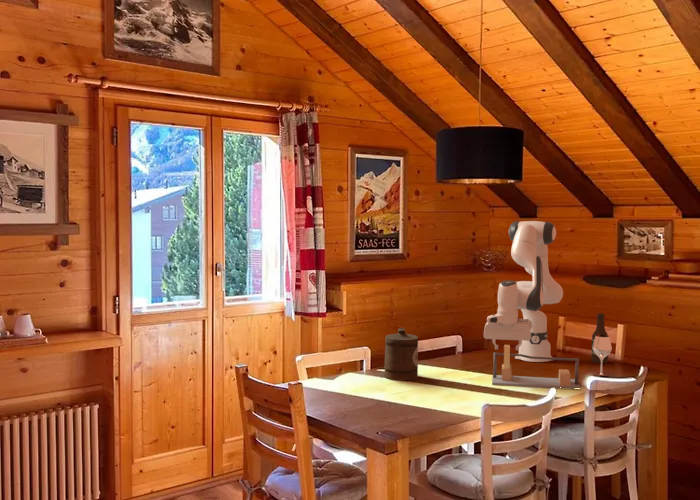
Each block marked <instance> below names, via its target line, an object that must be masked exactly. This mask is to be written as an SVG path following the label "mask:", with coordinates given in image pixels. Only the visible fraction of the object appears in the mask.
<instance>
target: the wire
mask: <svg viewBox="0 0 700 500" xmlns="http://www.w3.org/2000/svg"><path fill="white" fill-rule="evenodd" d="M496 353H497V356H504V352H502V353H501V352H496ZM515 356H522V357H526V358H530V359H549V360H552V361H570V362H571V361H574V362H575V361H576V359H575V358H572V357H571V358H570V357H569V358H568V357H553V356H552V357H532V356H527V355H523V354H518V353H510V357H515Z"/></svg>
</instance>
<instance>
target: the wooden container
mask: <svg viewBox="0 0 700 500" xmlns="http://www.w3.org/2000/svg"><path fill="white" fill-rule="evenodd" d="M384 340H385V342H384V344H385V345H384V378H386V379H389V380H393V381H411V380H415V379H417V378H418V375H419V373H418V371H419V370H418V369H419V336H418V335H417V334H416V335H415V334H410V333H406V328H404V327H400V328H398V329H397V333H391V334H386V335H385V339H384Z"/></svg>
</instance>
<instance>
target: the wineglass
mask: <svg viewBox="0 0 700 500" xmlns="http://www.w3.org/2000/svg"><path fill="white" fill-rule="evenodd" d="M592 348H593V351H594V353H595V354H596V355H597V356H598V357H599V358H600V360H601V364H600V374H599V375H604V374H605V373H603V359H604V358H605V357H606V356H608V357H609V355H610V354H611V352H612V349H613V348H612V342H611V338H610V336H609V335H608V336H607V335H596V336H595V339H594V343H593V347H592V346H591V349H592Z"/></svg>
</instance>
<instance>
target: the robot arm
mask: <svg viewBox="0 0 700 500" xmlns="http://www.w3.org/2000/svg"><path fill="white" fill-rule="evenodd" d="M508 237H509V240H510V241H511V242H512V244H511V250H510V255H511V258H512V259H513V261H514V262H515V263H516V264H517V265H519V266H520V267H523V268H524V270H525V272H527V273H528V274H529V275H531V277H532V278H531V279H532V281H531V280H520V281H514V280H503V281H501V282H500V283H499V284H498V289H497V305H498V306H497V310H496V311H497V312H496V314H495V313H494V314H491V315H487V317H486V323H485V325H484V329H483V338H484V339H485V340H491V341H492V344H493V345H494V350H499V344H496V340H503V341H507V340H508V341H518V345H515V351H518V353H517V354H523V355H527V356H532V357H553V356H552V355H551V343H550V342H549V341H548V335H549V334H548V330H547V329H548V327H547V325H548V324H547V323H548V318H547V315H546V313H544V312H543V311H541V310H540V309H541V308H543V306H544V305H554V304H558V303H560V302H561V300H562V299H563V297H564V290H563V288H562V287H563V286H561V285H560V284H559V282H557V281H556V280H555V279H554V278H553V276H552V275H551V274H550V270H549V269H550V268H549V257H548V256H549V248H548V245H550V244H553V242H554V241H555V239H556V237H557V229H556V226H555V224H554V223H553V222H550V221H540V220H539V221H538V220H525V221H523V220H522V221H520V220H518V221H513V222H512V223H510V225H509V229H508ZM519 310H520V311H521V313H522V317H523V318H519ZM514 359H515V360H516V359H517V360H522V361H524V362H533V363H535V362H536V363H544V362H546V363H547V362H551V361H553V360H549V359H530V358H526V357H522V356H514Z"/></svg>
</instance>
